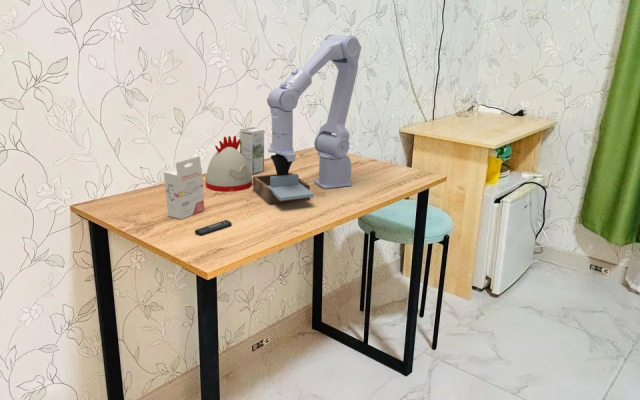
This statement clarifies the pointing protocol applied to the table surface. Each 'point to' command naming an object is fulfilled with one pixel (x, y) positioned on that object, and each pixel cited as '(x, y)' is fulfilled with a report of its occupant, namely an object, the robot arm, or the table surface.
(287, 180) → the lid
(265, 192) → the box
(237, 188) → the kitchen timer
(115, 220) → the table surface
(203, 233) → the usb stick
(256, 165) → the syrup box
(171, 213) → the ink cartridge box
